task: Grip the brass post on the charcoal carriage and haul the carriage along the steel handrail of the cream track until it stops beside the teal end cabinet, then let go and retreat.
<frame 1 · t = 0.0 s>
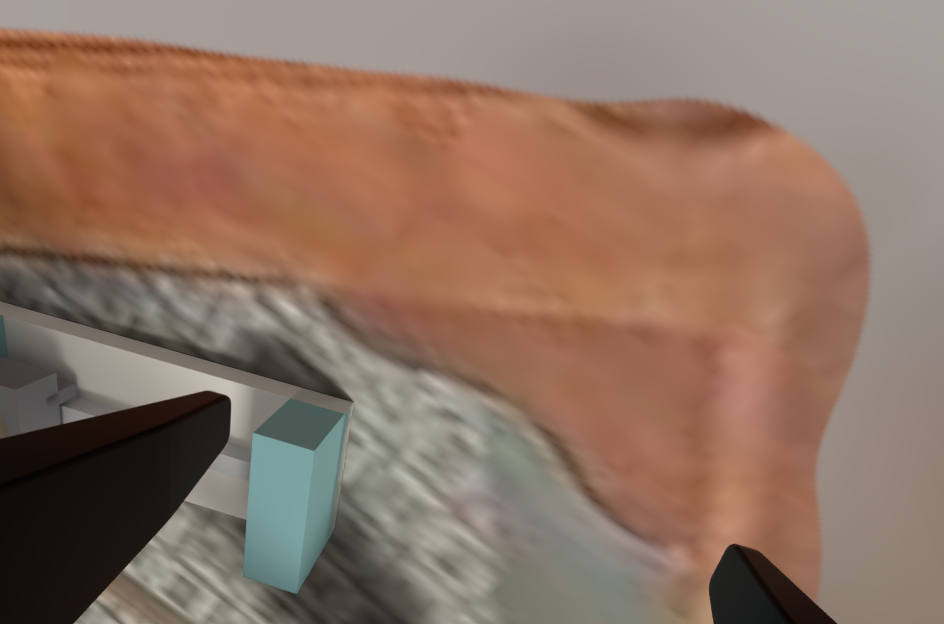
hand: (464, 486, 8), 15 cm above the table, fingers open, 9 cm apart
rail track: (160, 414, 28), on the table
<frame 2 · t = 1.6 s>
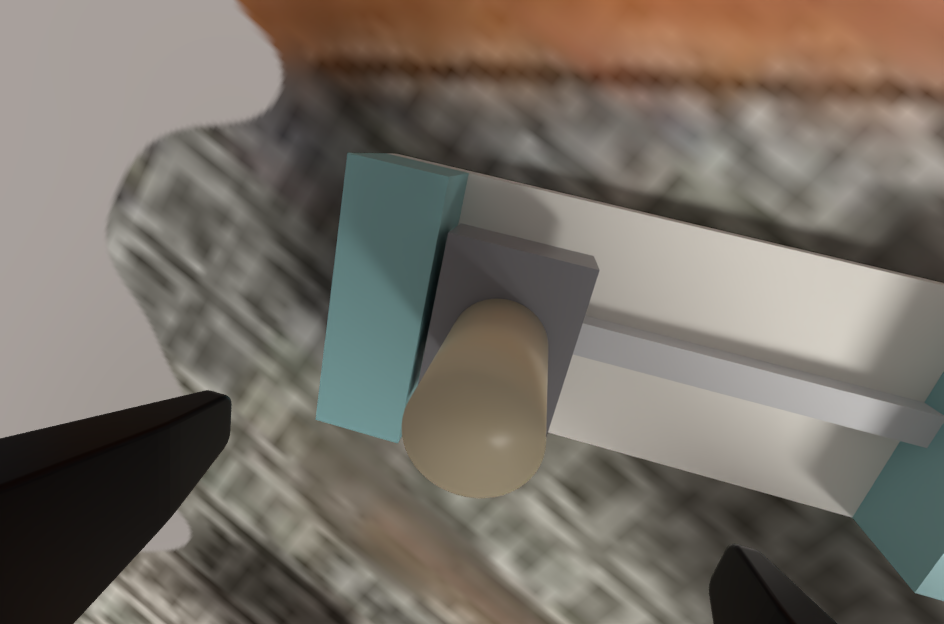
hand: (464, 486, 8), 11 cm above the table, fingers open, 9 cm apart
rail track: (662, 341, 18), on the table
carriage: (494, 359, 13), point 6 cm above the table, slide at 0.0 cm
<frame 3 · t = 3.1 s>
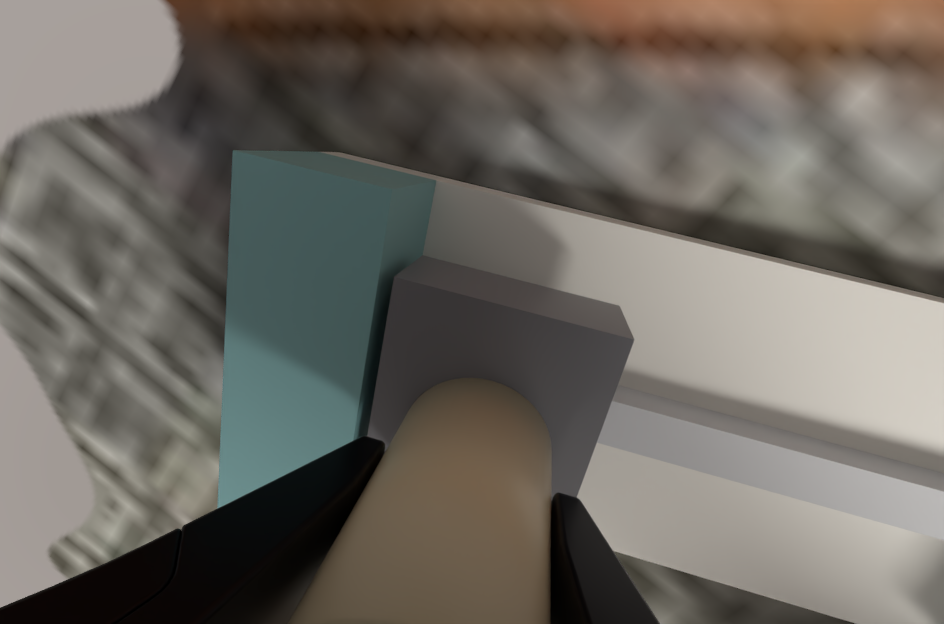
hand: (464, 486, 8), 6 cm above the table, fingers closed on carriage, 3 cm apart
rail track: (707, 411, 13), on the table
carriage: (466, 478, 9), point 6 cm above the table, slide at 0.0 cm, touching gripper
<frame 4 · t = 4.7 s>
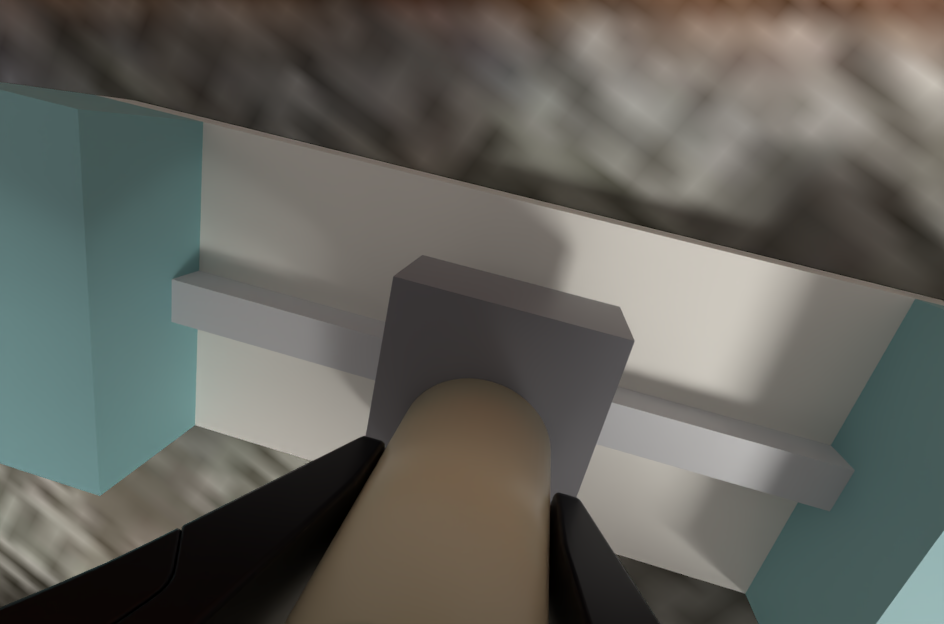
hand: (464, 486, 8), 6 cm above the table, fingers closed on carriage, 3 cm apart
rail track: (496, 355, 14), on the table
carriage: (465, 479, 8), point 6 cm above the table, slide at 6.1 cm, touching gripper
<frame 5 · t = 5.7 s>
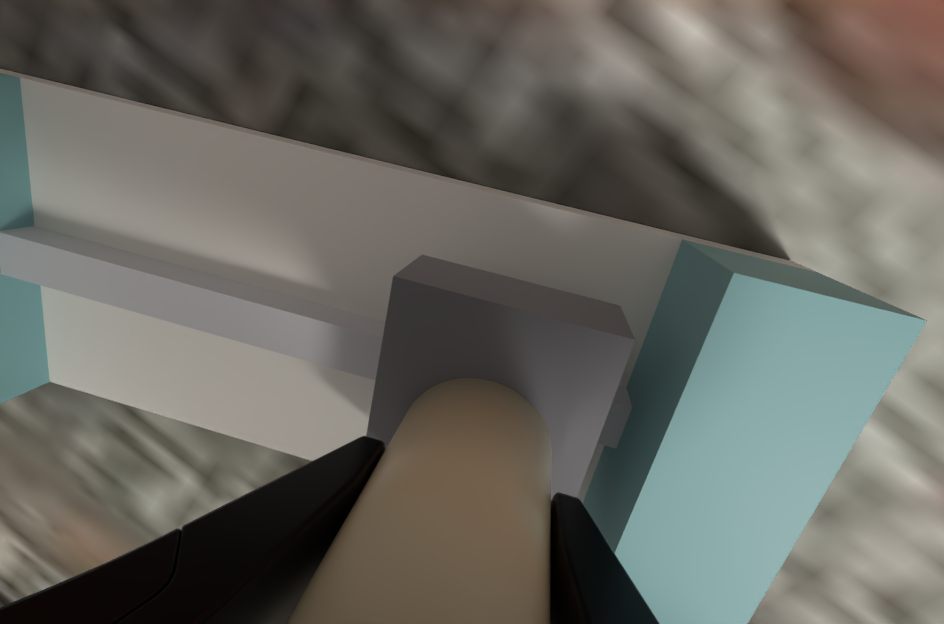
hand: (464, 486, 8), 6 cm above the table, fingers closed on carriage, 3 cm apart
rail track: (331, 309, 14), on the table
carriage: (465, 479, 8), point 6 cm above the table, slide at 11.2 cm, touching gripper
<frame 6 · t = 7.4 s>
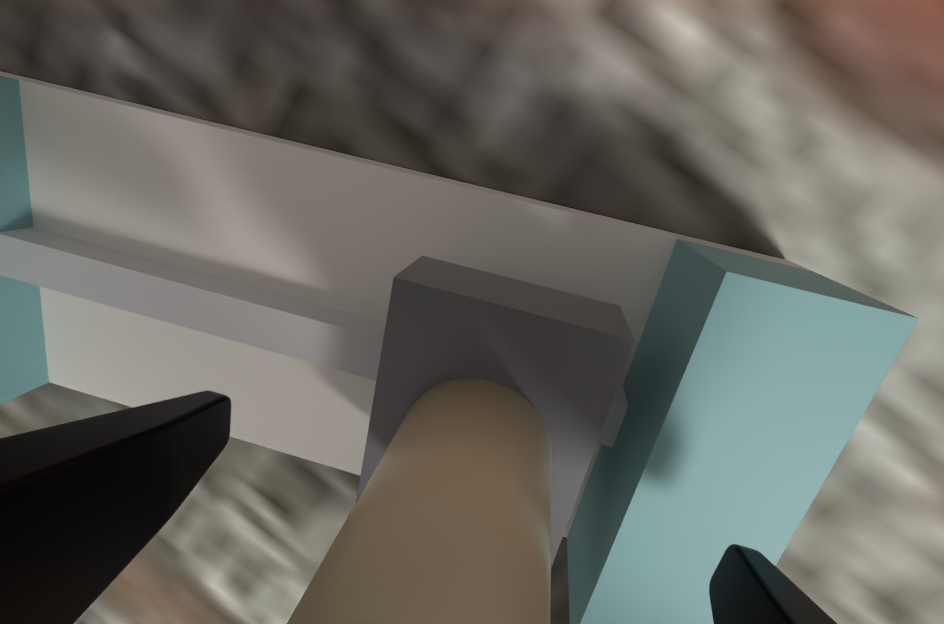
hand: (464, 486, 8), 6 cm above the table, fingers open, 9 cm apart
rail track: (328, 309, 14), on the table
carriage: (466, 479, 8), point 6 cm above the table, slide at 11.3 cm
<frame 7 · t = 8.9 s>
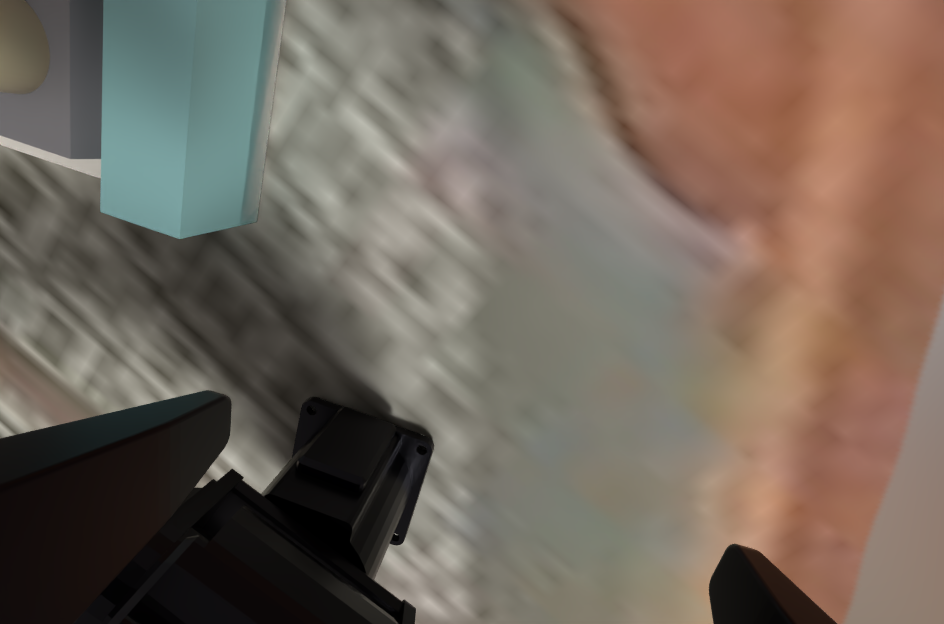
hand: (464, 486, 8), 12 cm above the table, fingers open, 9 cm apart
rail track: (14, 30, 20), on the table
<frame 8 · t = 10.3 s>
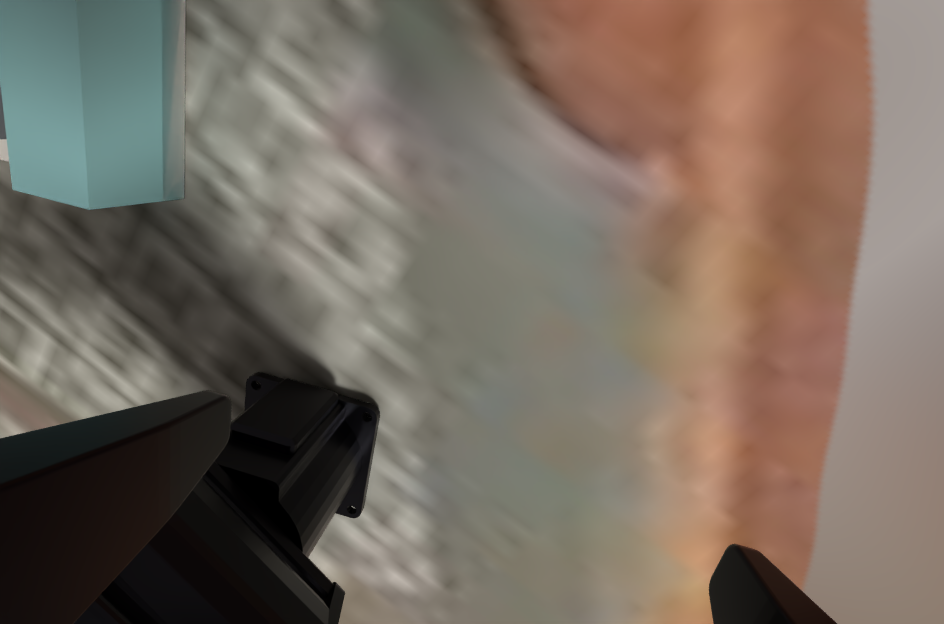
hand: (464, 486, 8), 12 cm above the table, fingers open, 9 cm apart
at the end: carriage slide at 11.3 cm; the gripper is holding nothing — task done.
